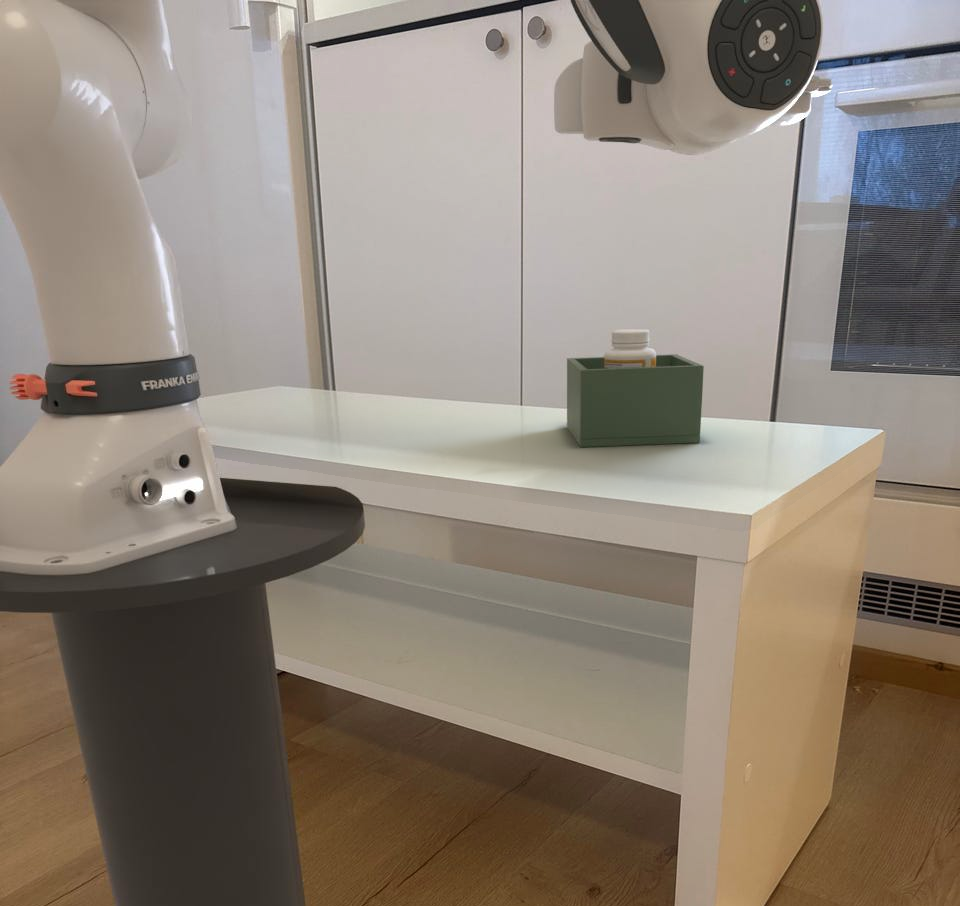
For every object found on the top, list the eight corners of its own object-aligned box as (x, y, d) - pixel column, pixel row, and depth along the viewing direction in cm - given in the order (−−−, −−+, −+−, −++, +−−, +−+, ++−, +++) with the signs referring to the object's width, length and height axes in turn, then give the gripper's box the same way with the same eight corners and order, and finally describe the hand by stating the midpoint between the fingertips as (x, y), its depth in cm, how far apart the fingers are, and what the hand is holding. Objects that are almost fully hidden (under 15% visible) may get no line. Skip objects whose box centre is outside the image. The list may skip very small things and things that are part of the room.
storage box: (699, 442, 99) (704, 365, 96) (580, 447, 99) (580, 370, 96) (673, 423, 111) (676, 354, 108) (566, 427, 111) (567, 358, 108)
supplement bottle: (632, 421, 108) (635, 327, 104) (664, 427, 104) (668, 329, 100) (592, 426, 106) (594, 330, 102) (623, 433, 101) (626, 333, 97)
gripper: (845, 31, 69) (784, 67, 81) (565, 41, 68) (547, 75, 81) (836, 129, 71) (777, 149, 84) (565, 139, 71) (547, 157, 84)
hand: (662, 113), depth 82 cm, fingers open, 8 cm apart
